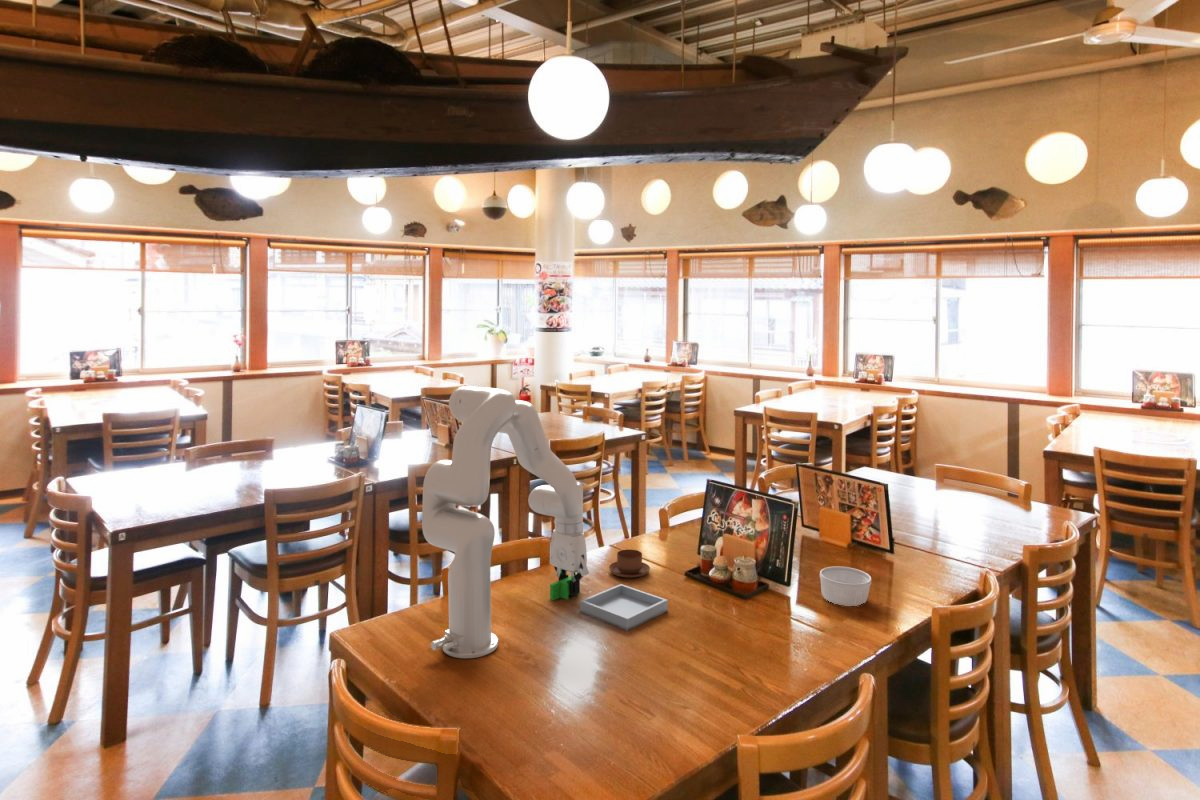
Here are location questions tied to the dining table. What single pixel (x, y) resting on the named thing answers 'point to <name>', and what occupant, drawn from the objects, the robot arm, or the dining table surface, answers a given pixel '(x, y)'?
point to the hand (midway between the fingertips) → (569, 591)
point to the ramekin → (845, 585)
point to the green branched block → (560, 589)
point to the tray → (624, 606)
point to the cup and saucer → (629, 564)
